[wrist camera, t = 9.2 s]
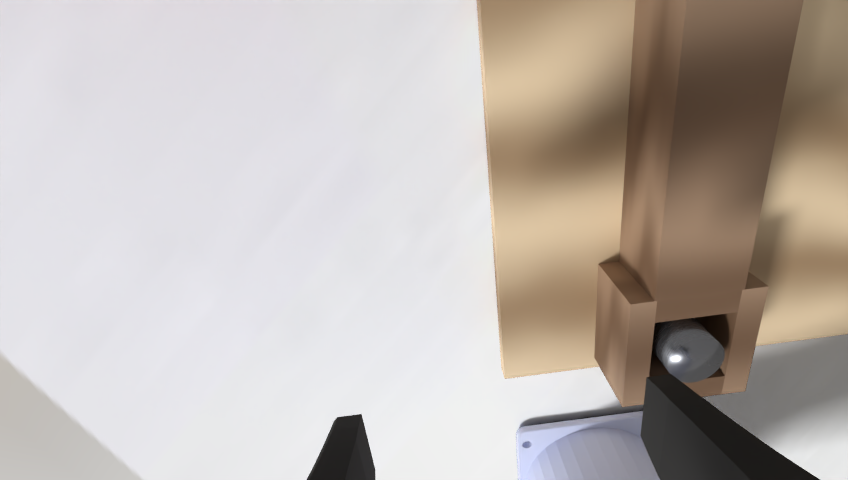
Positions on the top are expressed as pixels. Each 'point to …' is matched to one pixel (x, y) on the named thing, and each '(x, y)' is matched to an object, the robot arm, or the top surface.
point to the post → (687, 349)
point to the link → (694, 184)
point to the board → (605, 165)
